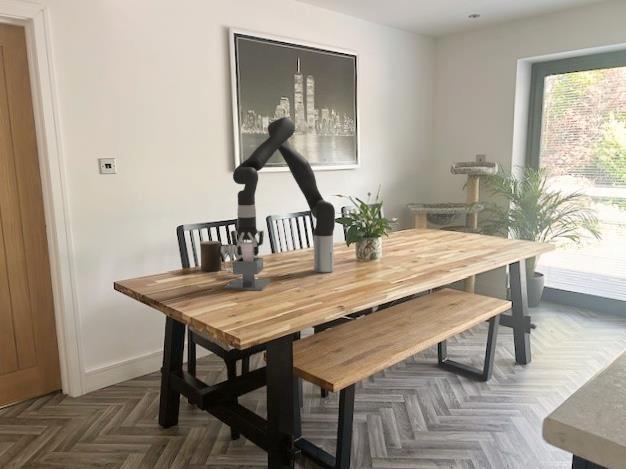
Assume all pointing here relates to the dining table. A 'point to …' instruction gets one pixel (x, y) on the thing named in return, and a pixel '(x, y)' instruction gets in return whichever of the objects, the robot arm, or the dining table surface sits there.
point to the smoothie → (247, 251)
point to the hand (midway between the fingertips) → (248, 255)
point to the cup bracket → (247, 275)
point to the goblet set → (230, 255)
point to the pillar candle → (210, 256)
